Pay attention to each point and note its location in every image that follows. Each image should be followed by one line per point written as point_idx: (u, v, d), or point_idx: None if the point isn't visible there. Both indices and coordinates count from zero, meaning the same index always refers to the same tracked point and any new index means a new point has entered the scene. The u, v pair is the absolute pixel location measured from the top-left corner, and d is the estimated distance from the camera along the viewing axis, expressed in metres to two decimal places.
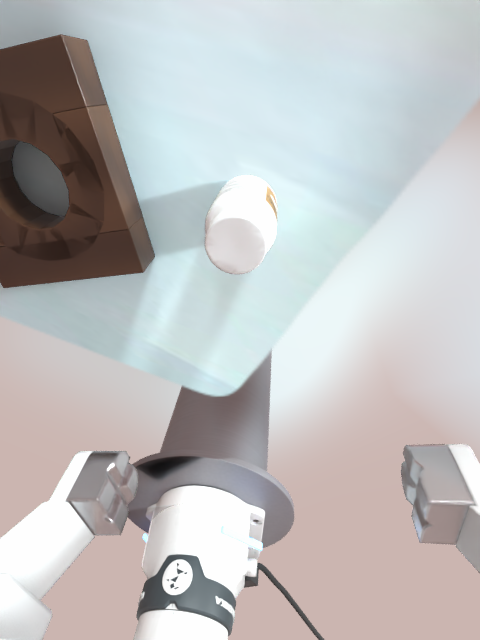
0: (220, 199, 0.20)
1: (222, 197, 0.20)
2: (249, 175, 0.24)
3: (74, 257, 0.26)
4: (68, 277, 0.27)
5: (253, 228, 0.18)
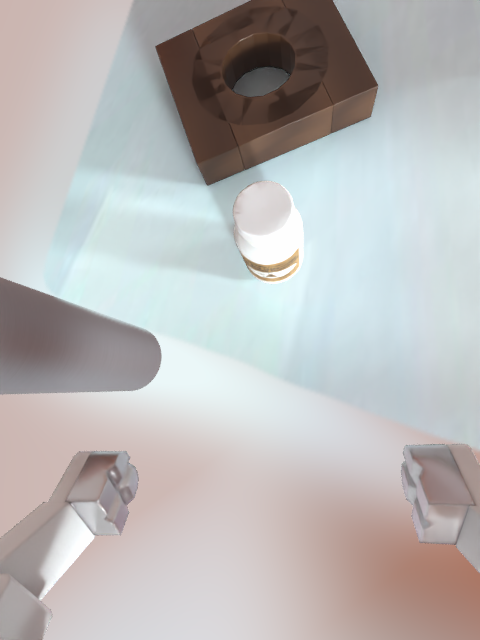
0: None
1: None
2: None
3: (200, 103, 0.27)
4: (178, 99, 0.28)
5: (284, 219, 0.19)
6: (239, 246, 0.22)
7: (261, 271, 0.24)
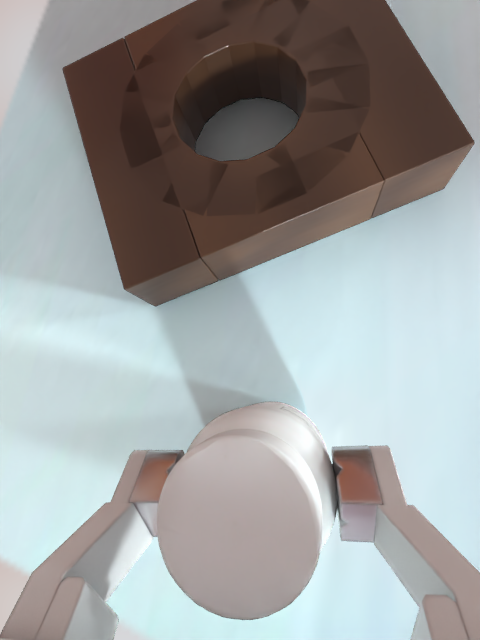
0: (311, 435, 0.09)
1: (315, 438, 0.10)
2: None
3: (133, 172, 0.15)
4: (95, 164, 0.15)
5: (298, 572, 0.07)
6: None
7: None
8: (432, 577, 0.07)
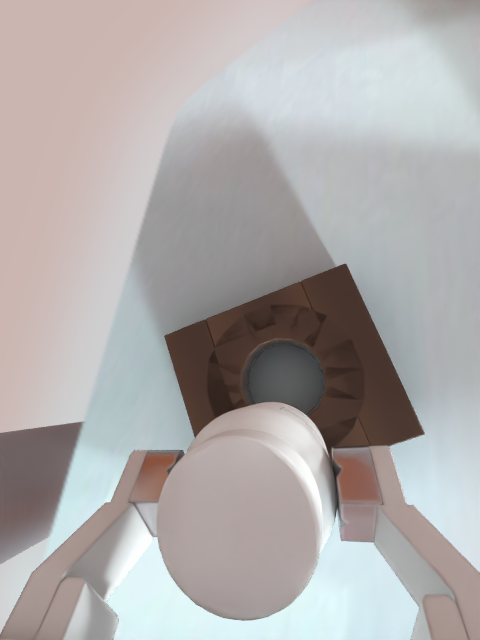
0: (311, 435, 0.09)
1: (315, 438, 0.10)
2: None
3: None
4: (191, 413, 0.24)
5: (298, 572, 0.07)
6: None
7: None
8: (432, 577, 0.07)
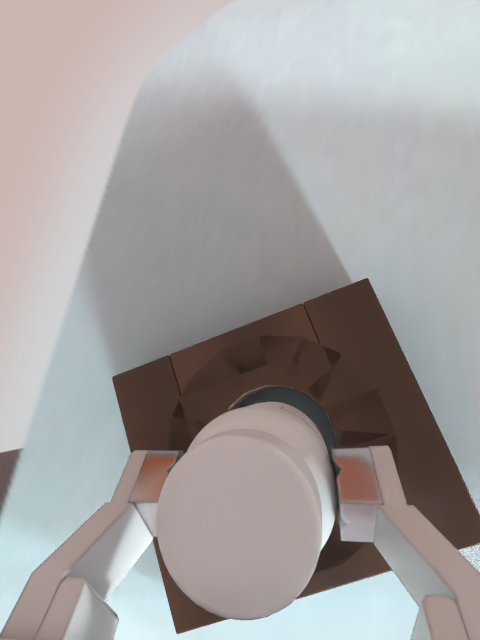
0: (311, 435, 0.09)
1: (315, 438, 0.10)
2: None
3: None
4: None
5: (297, 572, 0.07)
6: None
7: None
8: (432, 577, 0.07)
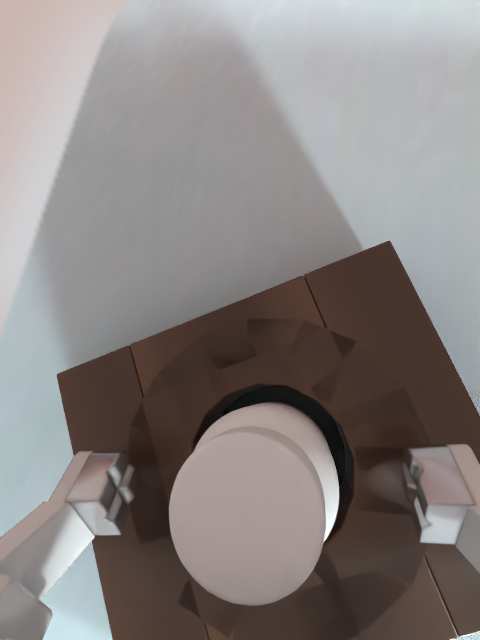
0: (314, 432, 0.10)
1: (318, 435, 0.10)
2: None
3: (141, 550, 0.12)
4: None
5: (302, 560, 0.07)
6: None
7: None
8: None
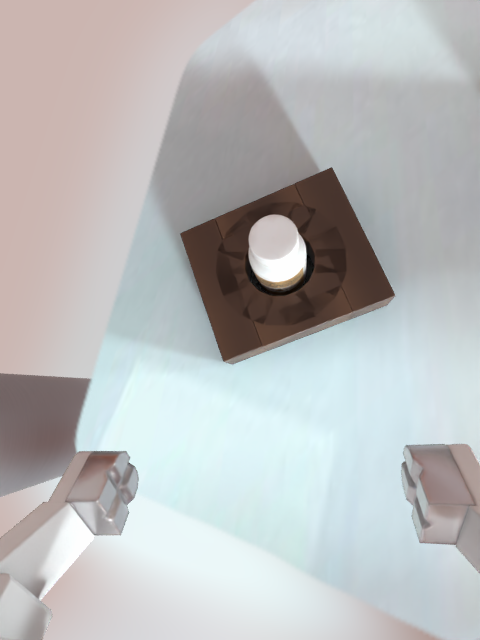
0: None
1: (298, 233, 0.26)
2: None
3: (225, 298, 0.29)
4: (203, 292, 0.29)
5: (291, 246, 0.24)
6: (253, 267, 0.26)
7: (271, 286, 0.28)
8: None
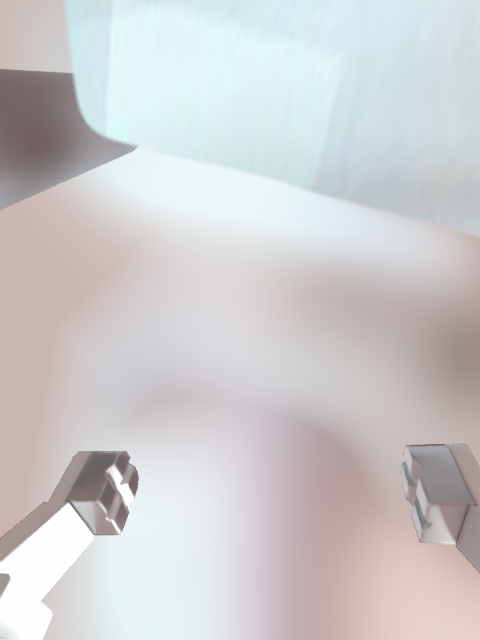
0: None
1: None
2: None
3: None
4: None
5: None
6: None
7: None
8: None
